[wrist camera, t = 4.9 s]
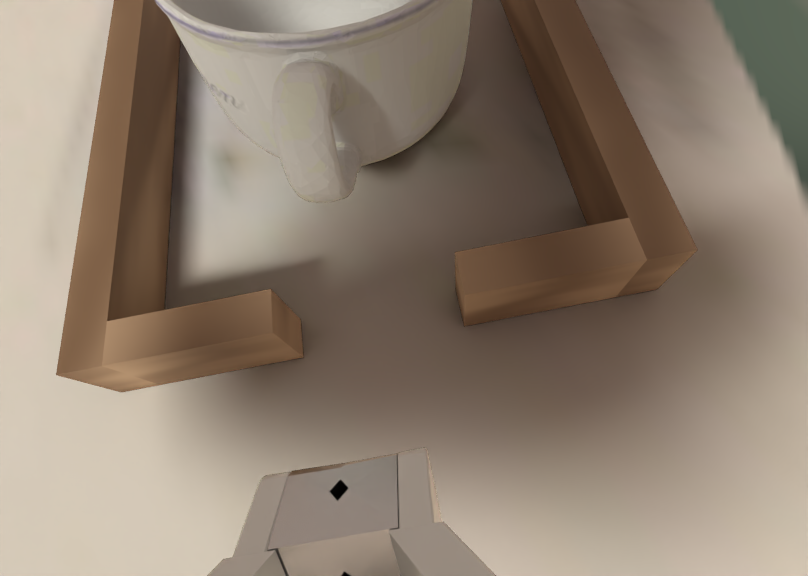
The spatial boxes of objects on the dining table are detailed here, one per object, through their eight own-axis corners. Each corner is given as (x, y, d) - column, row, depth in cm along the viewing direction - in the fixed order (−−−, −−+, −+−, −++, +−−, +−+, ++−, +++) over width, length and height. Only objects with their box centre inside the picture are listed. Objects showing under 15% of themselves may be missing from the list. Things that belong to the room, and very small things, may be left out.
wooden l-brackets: (121, 392, 17) (56, 375, 14) (154, 33, 25) (117, -22, 22) (657, 289, 16) (697, 249, 13) (512, -47, 24) (519, -114, 22)
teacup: (279, 27, 24) (201, -170, 17) (484, 28, 22) (496, -193, 15) (195, 260, 19) (28, 121, 12) (454, 284, 17) (451, 138, 10)
